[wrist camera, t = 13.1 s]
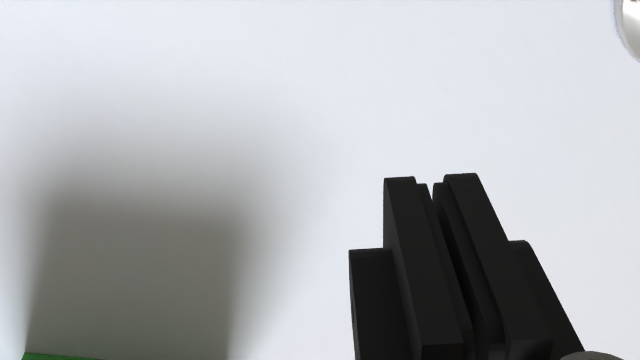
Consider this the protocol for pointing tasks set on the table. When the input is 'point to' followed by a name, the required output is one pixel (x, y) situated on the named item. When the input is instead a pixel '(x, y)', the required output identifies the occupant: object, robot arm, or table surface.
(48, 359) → the hardback book
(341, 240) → the table surface
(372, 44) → the table surface
